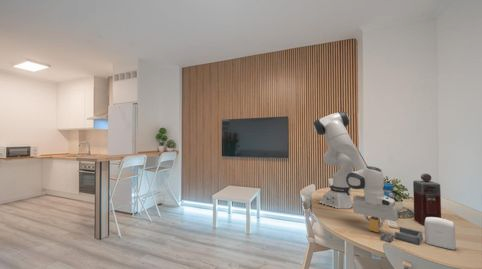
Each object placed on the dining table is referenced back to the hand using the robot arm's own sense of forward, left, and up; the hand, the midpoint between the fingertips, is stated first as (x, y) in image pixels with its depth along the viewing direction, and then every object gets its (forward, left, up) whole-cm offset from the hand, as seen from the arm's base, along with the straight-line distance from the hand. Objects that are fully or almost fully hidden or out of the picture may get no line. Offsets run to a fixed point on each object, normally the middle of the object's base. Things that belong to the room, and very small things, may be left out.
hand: (374, 225), depth 114 cm
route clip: (+7, -6, -3) cm, 10 cm away
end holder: (+14, +3, -3) cm, 14 cm away
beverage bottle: (-1, +29, -4) cm, 29 cm away
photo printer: (+25, +4, -4) cm, 25 cm away
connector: (0, 0, -3) cm, 3 cm away
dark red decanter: (+18, +33, -4) cm, 37 cm away
